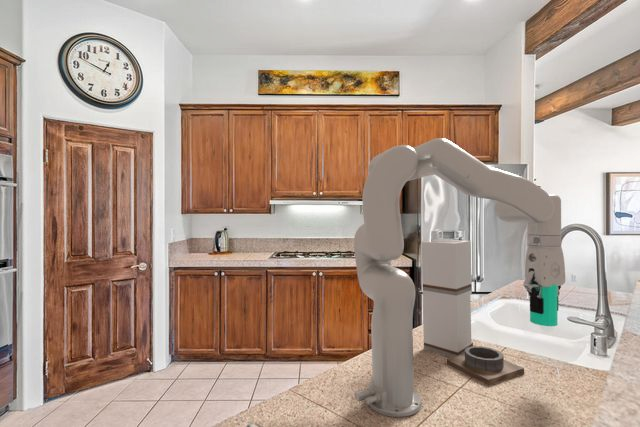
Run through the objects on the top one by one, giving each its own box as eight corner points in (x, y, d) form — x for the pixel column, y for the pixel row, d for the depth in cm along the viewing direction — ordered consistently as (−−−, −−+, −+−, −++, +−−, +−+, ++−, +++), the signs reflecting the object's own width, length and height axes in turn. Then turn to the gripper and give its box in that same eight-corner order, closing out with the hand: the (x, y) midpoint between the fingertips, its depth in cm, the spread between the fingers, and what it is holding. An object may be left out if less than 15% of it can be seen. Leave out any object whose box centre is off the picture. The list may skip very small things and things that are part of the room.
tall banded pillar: (473, 349, 109) (470, 241, 109) (458, 359, 102) (455, 243, 102) (440, 340, 117) (437, 239, 117) (423, 348, 110) (421, 241, 110)
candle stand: (488, 385, 86) (488, 368, 86) (446, 364, 98) (446, 348, 98) (524, 373, 92) (523, 357, 92) (480, 354, 104) (479, 340, 104)
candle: (562, 327, 84) (562, 279, 84) (535, 325, 85) (535, 278, 86) (550, 320, 90) (550, 275, 90) (526, 318, 91) (526, 274, 91)
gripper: (537, 243, 81) (537, 319, 81) (578, 241, 88) (579, 311, 88) (508, 241, 88) (508, 311, 88) (549, 240, 95) (549, 304, 95)
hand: (544, 310), depth 88 cm, fingers closed on candle, 5 cm apart
